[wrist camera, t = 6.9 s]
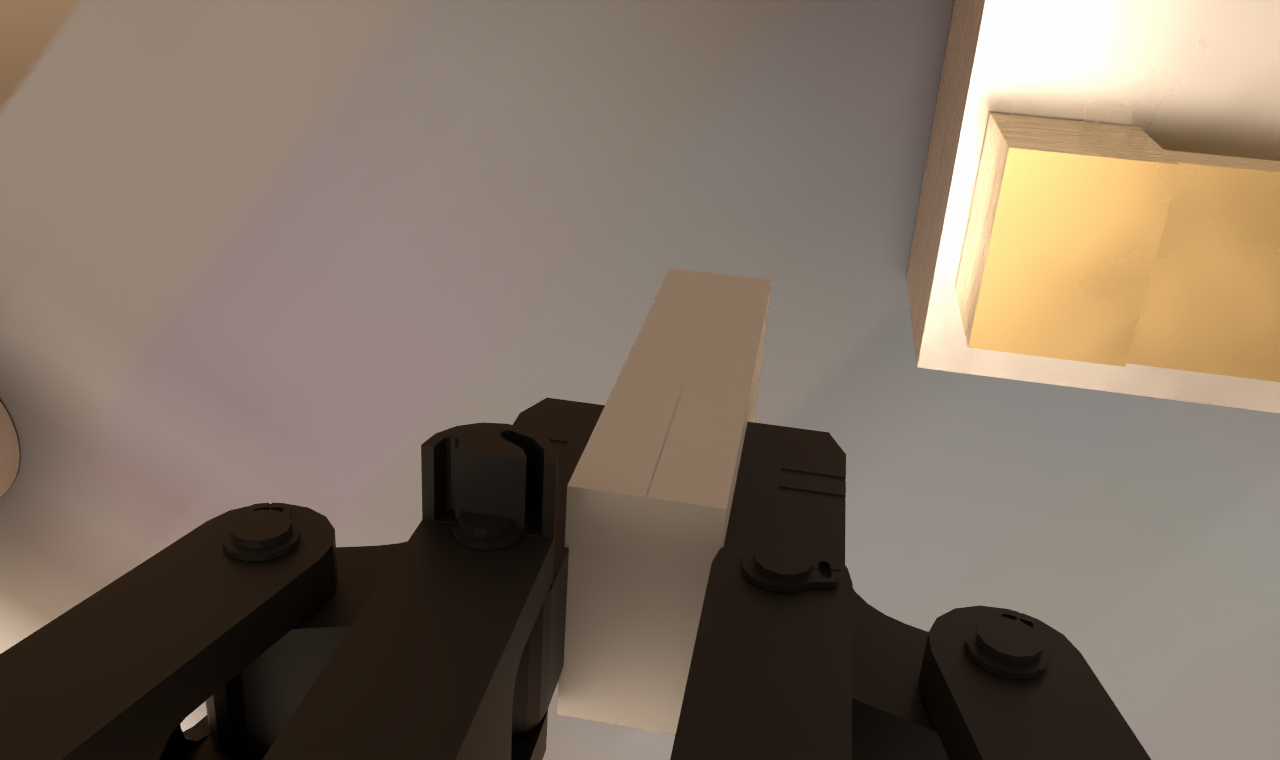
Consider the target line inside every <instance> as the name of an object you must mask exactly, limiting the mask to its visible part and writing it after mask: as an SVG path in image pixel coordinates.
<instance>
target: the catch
mask: <svg viewBox="0 0 1280 760" xmlns="http://www.w3.org/2000/svg"><path fill="white" fill-rule="evenodd" d="M955 293H956V298H957V302H958V306H959V310H960V315H961V319H962V323H963V328H964V332H965V336H966V341H967V345H968V348H976V349H984V350H992V351H1000V352H1008V353H1017V354H1025V355H1033V356H1041V357H1049V358H1057V359H1065V360H1073V361H1081V362H1089V363H1097V364H1105V365H1113V366H1121V367H1125V366H1126V363H1128V364H1136V365H1144V366H1152V367H1160V368H1168V369H1176V370H1185V371H1193V372H1201V373H1209V374H1217V375H1225V376H1233V377H1241V378H1249V379H1257V380H1266V381H1274V382H1280V161H1272V160H1262V159H1252V158H1242V157H1232V156H1222V155H1212V154H1202V153H1192V152H1182V151H1171V150H1164V149H1163V148H1162V147H1160V146H1159V145H1158V144H1157V143H1156V142H1155V141H1154V140H1153V139H1152V138H1151V137H1150V136H1148V135H1147V134H1146V133H1145V132H1144V131H1143V130H1142V129H1141V128H1140V127H1136V126H1126V125H1115V124H1105V123H1095V122H1084V121H1074V120H1064V119H1053V118H1043V117H1033V116H1022V115H1012V114H1002V113H991V112H990V115H989V120H988V125H987V130H986V135H985V140H984V145H983V150H982V156H981V161H980V166H979V171H978V176H977V181H976V186H975V191H974V196H973V202H972V207H971V212H970V217H969V222H968V227H967V232H966V237H965V243H964V248H963V253H962V258H961V263H960V268H959V273H958V278H957V284H956V289H955Z"/></svg>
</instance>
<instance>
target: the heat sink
mask: <svg viewBox="0 0 1280 760" xmlns="http://www.w3.org/2000/svg"><path fill="white" fill-rule="evenodd" d="M990 112H991V113H1002V114H1012V115H1022V116H1033V117H1043V118H1053V119H1064V120H1074V121H1084V122H1095V123H1105V124H1115V125H1126V126H1136V127H1140V128H1141V129H1142V130H1143V131H1144V132H1145V133H1146V134H1147V135H1148V136H1150V137H1151V138H1152V139H1153V140H1154V141H1155V142H1156V143H1157V144H1158V145H1159V146H1160V147H1162V148H1163V149H1164V150H1171V151H1182V152H1192V153H1202V154H1212V155H1222V156H1232V157H1242V158H1252V159H1262V160H1272V161H1280V0H954V5H953V11H952V17H951V22H950V28H949V34H948V40H947V45H946V51H945V57H944V63H943V68H942V74H941V80H940V86H939V91H938V97H937V103H936V108H935V114H934V120H933V126H932V131H931V137H930V143H929V149H928V154H927V160H926V166H925V172H924V177H923V183H922V189H921V194H920V200H919V206H918V212H917V217H916V223H915V229H914V235H913V240H912V246H911V252H910V257H909V263H908V269H907V275H906V279H907V287H908V295H909V304H910V312H911V320H912V328H913V337H914V345H915V353H916V361H917V367H919V368H927V369H935V370H943V371H951V372H958V373H966V374H974V375H982V376H990V377H998V378H1006V379H1014V380H1021V381H1029V382H1037V383H1045V384H1053V385H1061V386H1069V387H1077V388H1085V389H1092V390H1100V391H1108V392H1116V393H1124V394H1132V395H1140V396H1148V397H1155V398H1163V399H1171V400H1179V401H1187V402H1195V403H1203V404H1211V405H1218V406H1226V407H1234V408H1242V409H1250V410H1258V411H1266V412H1274V413H1280V382H1274V381H1266V380H1257V379H1249V378H1241V377H1233V376H1225V375H1217V374H1209V373H1201V372H1193V371H1185V370H1176V369H1168V368H1160V367H1152V366H1144V365H1136V364H1128V363H1126V366H1125V367H1121V366H1113V365H1105V364H1097V363H1089V362H1081V361H1073V360H1065V359H1057V358H1049V357H1041V356H1033V355H1025V354H1017V353H1008V352H1000V351H992V350H984V349H976V348H968V345H967V341H966V336H965V332H964V328H963V323H962V319H961V315H960V310H959V306H958V302H957V298H956V293H955V289H956V284H957V278H958V273H959V268H960V263H961V258H962V253H963V248H964V243H965V237H966V232H967V227H968V222H969V217H970V212H971V207H972V202H973V196H974V191H975V186H976V181H977V176H978V171H979V166H980V161H981V156H982V150H983V145H984V140H985V135H986V130H987V125H988V120H989V115H990Z"/></svg>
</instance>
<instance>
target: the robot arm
mask: <svg viewBox="0 0 1280 760" xmlns="http://www.w3.org/2000/svg"><path fill="white" fill-rule="evenodd" d="M771 283H772V280H764V279H755V278H747V277H739V276H730V275H722V274H713V273H705V272H696V271H688V270H679V269H671V268H670V269H669V271H668V273H667V275H666V277H665V279H664V281H663V284H662V286H661V288H660V290H659V292H658V294H657V296H656V298H655V301H654V303H653V305H652V307H651V309H650V311H649V313H648V315H647V318H646V320H645V322H644V324H643V326H642V328H641V330H640V332H639V335H638V337H637V339H636V341H635V343H634V345H633V347H632V349H631V352H630V354H629V356H628V358H627V360H626V362H625V364H624V366H623V369H622V371H621V373H620V375H619V377H618V379H617V381H616V383H615V386H614V388H613V390H612V392H611V394H610V396H609V398H608V400H607V403H606V405H597V404H590V403H582V402H575V401H567V400H560V399H553V398H546V399H544V400H542V401H541V402H539V403H537V404H535V405H534V406H532V407H530V408H528V409H526V410H525V411H523V412H521V413H520V414H519V416H518V417H517V419H516V421H515V422H514V424H513V425H510V424H498V423H476V424H469V425H462V426H456V427H453V428H450V429H447V430H445V431H442V432H439V433H436V434H434V435H433V436H432V437H431V438H429V439H428V440H427V441H426V442H424V443H423V444H422V445H421V458H422V513H423V520H422V521H421V523H420V524H419V526H418V527H417V529H416V530H415V532H414V533H413V535H412V536H411V538H410V539H409V541H407V542H403V543H399V544H390V545H381V546H362V547H338V548H336V543H335V529H334V528H333V526H332V525H331V523H330V522H329V520H328V519H327V518H326V517H325V516H323V515H321V514H320V513H318V512H316V511H314V510H312V509H310V508H307V507H301V506H296V505H290V504H284V503H272V504H269V503H262V504H254V505H251V506H248V507H243V508H239V509H235V510H230V511H228V512H226V513H224V514H222V515H220V516H217V517H215V518H213V519H211V520H209V521H207V522H205V523H204V524H202V525H201V526H199V527H198V528H196V529H194V530H193V531H191V532H190V533H188V534H187V535H185V536H184V537H182V538H180V539H179V540H177V541H176V542H174V543H173V544H171V545H170V546H168V547H166V548H165V549H163V550H162V551H160V552H159V553H157V554H156V555H154V556H152V557H151V558H149V559H148V560H146V561H145V562H143V563H142V564H140V565H138V566H137V567H135V568H134V569H132V570H131V571H129V572H128V573H126V574H124V575H123V576H121V577H120V578H118V579H117V580H115V581H114V582H112V583H110V584H109V585H107V586H106V587H104V588H103V589H101V590H100V591H98V592H96V593H95V594H93V595H92V596H90V597H89V598H87V599H86V600H84V601H82V602H81V603H79V604H78V605H76V606H75V607H73V608H72V609H70V610H68V611H67V612H65V613H64V614H62V615H61V616H59V617H58V618H56V619H54V620H53V621H51V622H50V623H48V624H47V625H45V626H44V627H42V628H40V629H39V630H37V631H36V632H34V633H33V634H31V635H30V636H28V637H26V638H25V639H23V640H22V641H20V642H19V643H17V644H16V645H14V646H12V647H11V648H9V649H8V650H6V651H5V652H3V653H2V654H0V760H542V759H543V756H544V753H545V750H546V738H547V716H548V707H549V704H550V702H551V699H552V696H553V693H554V691H555V688H556V685H557V682H558V680H559V686H558V709H557V714H558V715H564V716H570V717H576V718H581V719H587V720H593V721H599V722H605V723H610V724H616V725H622V726H628V727H634V728H640V729H645V730H651V731H657V732H663V733H669V734H675V740H674V745H673V750H672V754H671V759H670V760H1151V759H1150V757H1149V756H1148V754H1147V753H1146V751H1145V750H1144V748H1143V747H1142V745H1141V744H1140V742H1139V741H1138V739H1137V738H1136V736H1135V734H1134V733H1133V731H1132V730H1131V728H1130V727H1129V725H1128V724H1127V722H1126V721H1125V719H1124V718H1123V716H1122V715H1121V713H1120V712H1119V710H1118V709H1117V707H1116V706H1115V704H1114V703H1113V701H1112V700H1111V698H1110V697H1109V695H1108V694H1107V692H1106V691H1105V689H1104V688H1103V686H1102V685H1101V683H1100V682H1099V680H1098V679H1097V677H1096V675H1095V674H1094V672H1093V671H1092V669H1091V668H1090V666H1089V665H1088V663H1087V662H1086V660H1085V659H1084V657H1083V656H1082V654H1081V653H1080V652H1079V651H1078V650H1077V649H1076V648H1075V647H1074V645H1073V644H1072V643H1071V642H1070V641H1069V640H1068V639H1067V638H1066V637H1065V636H1064V635H1063V634H1061V633H1060V632H1058V631H1056V630H1055V629H1053V628H1051V627H1050V626H1048V625H1046V624H1045V623H1043V622H1041V621H1040V620H1038V619H1035V618H1033V617H1030V616H1028V615H1025V614H1023V613H1022V614H1021V613H1018V612H1016V611H1012V610H1009V609H1003V608H994V607H987V606H973V607H965V608H956V609H953V610H951V611H950V612H948V613H946V614H944V615H942V616H940V617H938V618H937V619H936V621H935V622H934V624H933V626H932V628H931V629H930V631H929V632H926V631H923V630H921V629H918V628H915V627H912V626H910V625H907V624H904V623H902V622H900V621H898V620H895V619H893V618H891V617H889V616H886V615H884V614H883V613H881V612H880V611H878V610H876V609H875V608H873V607H872V606H870V605H869V604H867V603H866V602H865V601H864V600H863V599H862V598H861V597H860V596H859V595H858V594H857V593H856V592H855V591H854V589H853V588H852V581H851V578H850V575H849V572H848V569H847V567H846V566H845V493H846V481H845V478H846V454H845V453H844V452H843V450H842V449H841V448H840V446H839V445H838V444H837V443H836V441H835V440H834V439H833V437H832V436H831V435H830V433H828V432H821V431H813V430H806V429H798V428H791V427H783V426H776V425H768V424H761V423H755V415H756V407H757V399H758V390H759V382H760V374H761V366H762V357H763V349H764V341H765V332H766V324H767V316H768V308H769V299H770V291H771ZM205 701H206V709H207V715H206V716H205V717H204V718H203V719H202V720H201V721H199V722H198V723H197V724H196V725H195V726H193V727H192V728H190V729H188V730H186V731H184V732H182V730H181V726H180V723H181V722H182V721H183V720H184V719H185V718H186V717H187V716H188V715H189V714H190V713H192V712H193V711H194V710H195V709H196V708H198V707H199V706H200V705H201V704H202V703H204V702H205Z"/></svg>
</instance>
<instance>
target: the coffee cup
mask: <svg viewBox="0 0 1280 760" xmlns="http://www.w3.org/2000/svg"><path fill="white" fill-rule="evenodd" d="M19 459H20V452H19V443H18V438H17V434H16V431H15V428H14V425H13V423H12V421H11V418H10V416H9V414H8V413H7V411H6V409H5V407H4V406H3V404H2V403H1V401H0V497H1V496H2V495H3V494H4V493H5V492H6V491H7V490H8V489H9V488H10V487H11V485H12V483H13V482H14V480H15V477H16V475H17V472H18V467H19Z"/></svg>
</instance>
